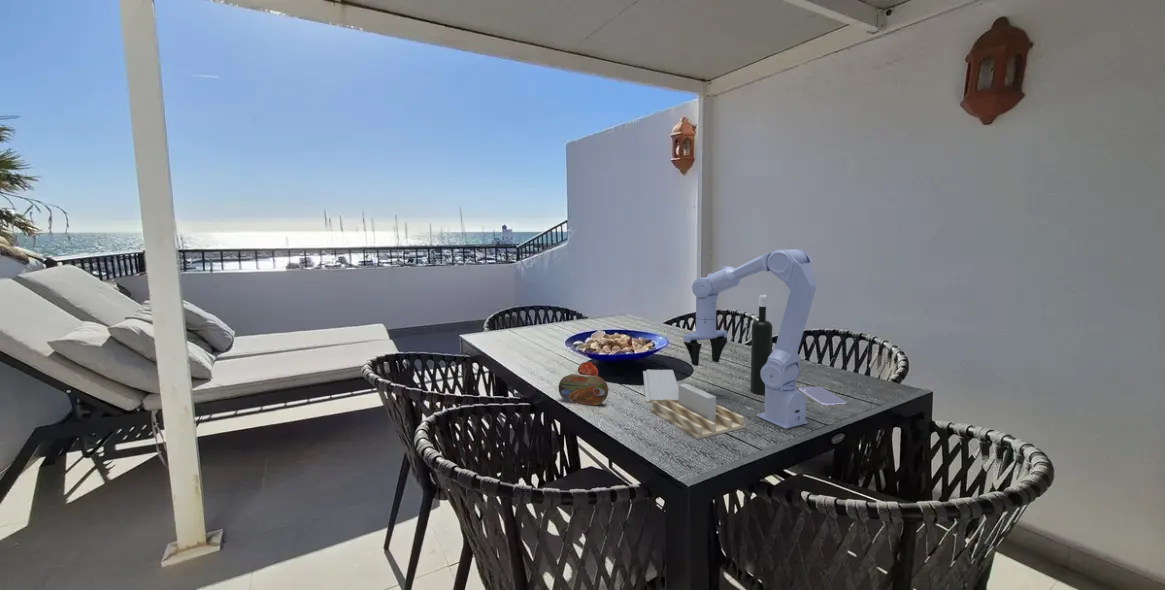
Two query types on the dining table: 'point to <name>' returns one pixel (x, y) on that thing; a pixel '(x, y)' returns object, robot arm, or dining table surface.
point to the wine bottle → (760, 347)
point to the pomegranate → (588, 369)
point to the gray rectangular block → (698, 401)
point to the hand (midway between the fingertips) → (705, 363)
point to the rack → (698, 419)
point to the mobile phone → (822, 395)
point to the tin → (583, 389)
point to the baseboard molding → (660, 386)
